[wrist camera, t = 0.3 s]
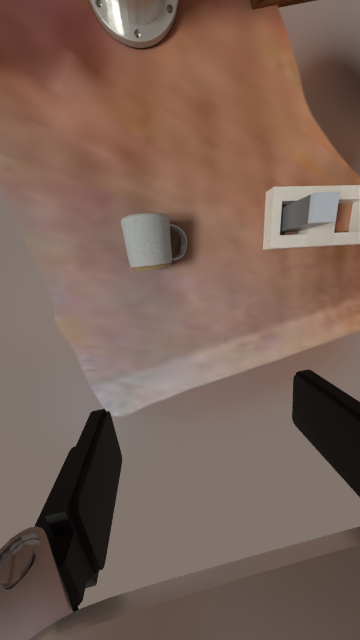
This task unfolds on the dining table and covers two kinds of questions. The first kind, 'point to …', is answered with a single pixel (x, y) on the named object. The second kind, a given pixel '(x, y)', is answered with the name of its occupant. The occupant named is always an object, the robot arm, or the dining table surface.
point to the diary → (276, 3)
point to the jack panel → (315, 235)
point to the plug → (310, 212)
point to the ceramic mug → (150, 241)
